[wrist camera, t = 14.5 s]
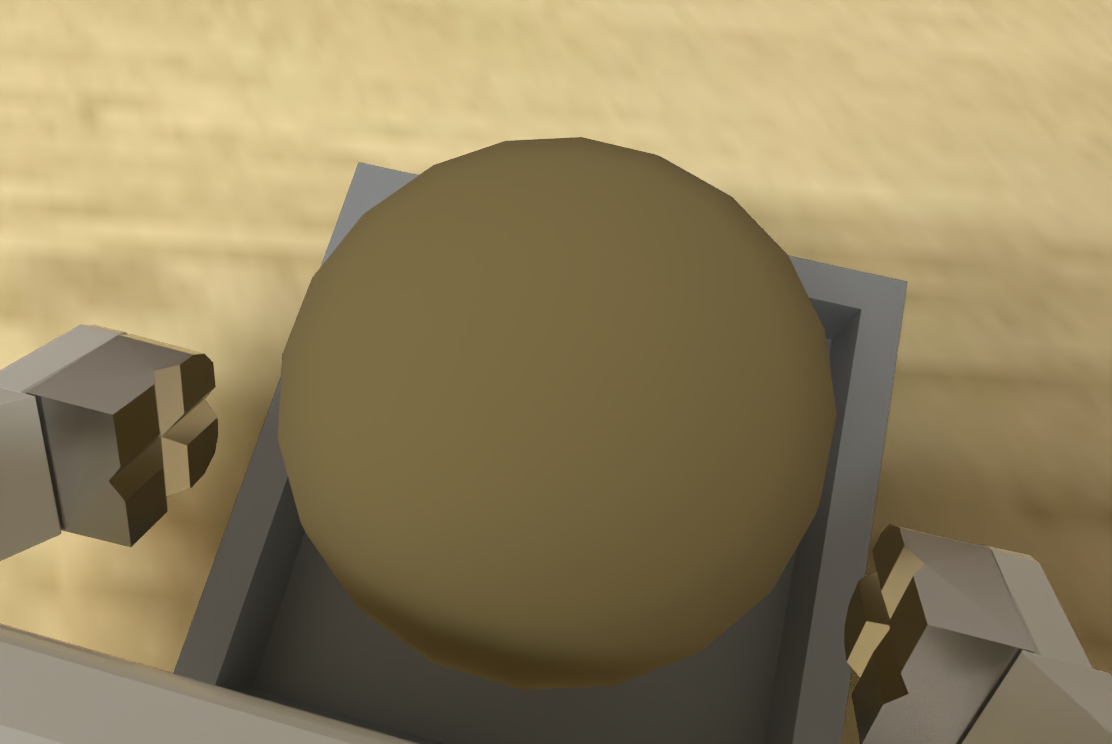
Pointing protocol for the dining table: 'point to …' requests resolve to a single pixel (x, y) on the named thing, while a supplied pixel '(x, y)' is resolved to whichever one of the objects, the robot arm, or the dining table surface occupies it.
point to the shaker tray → (582, 712)
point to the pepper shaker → (556, 413)
